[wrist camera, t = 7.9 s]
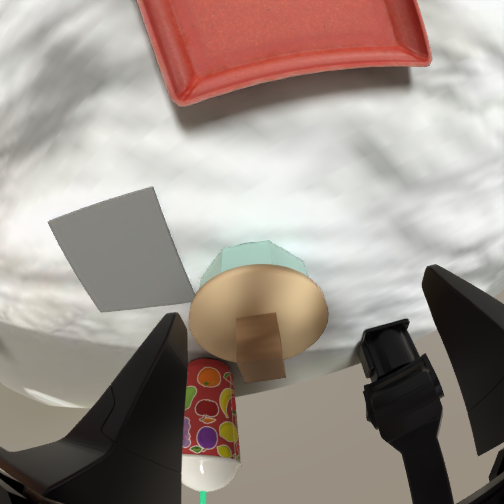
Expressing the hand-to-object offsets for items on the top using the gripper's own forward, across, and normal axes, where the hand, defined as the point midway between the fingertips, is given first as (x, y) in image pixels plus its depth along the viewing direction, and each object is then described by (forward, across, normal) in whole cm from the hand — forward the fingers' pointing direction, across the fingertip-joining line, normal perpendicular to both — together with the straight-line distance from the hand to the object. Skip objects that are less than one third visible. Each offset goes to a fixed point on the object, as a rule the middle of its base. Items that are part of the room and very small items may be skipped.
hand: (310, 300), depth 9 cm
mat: (+13, +15, +5) cm, 20 cm away
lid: (+8, +3, +10) cm, 13 cm away
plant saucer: (+14, -3, -16) cm, 21 cm away
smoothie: (+13, +12, +24) cm, 30 cm away
